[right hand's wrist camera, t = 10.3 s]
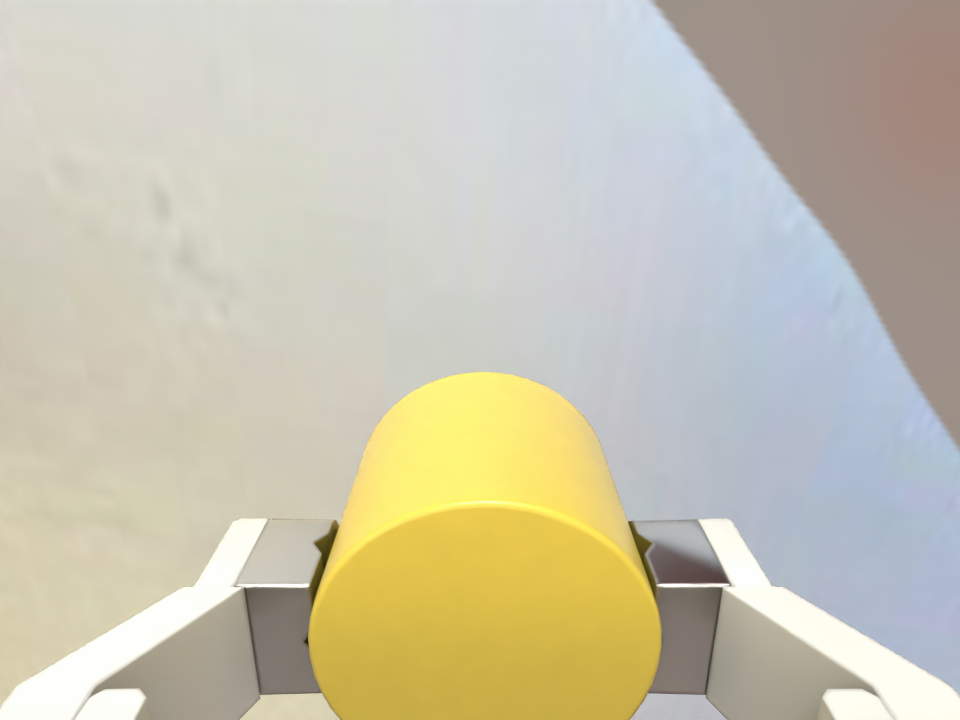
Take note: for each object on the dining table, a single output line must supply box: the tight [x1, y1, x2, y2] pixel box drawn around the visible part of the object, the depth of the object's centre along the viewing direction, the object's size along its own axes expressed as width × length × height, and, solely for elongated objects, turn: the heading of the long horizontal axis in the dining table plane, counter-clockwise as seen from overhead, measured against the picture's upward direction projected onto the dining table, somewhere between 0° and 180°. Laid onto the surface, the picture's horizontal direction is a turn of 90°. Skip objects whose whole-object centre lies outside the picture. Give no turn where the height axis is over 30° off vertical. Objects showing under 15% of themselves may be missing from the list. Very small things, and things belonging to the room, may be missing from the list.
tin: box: [308, 372, 662, 720], centre depth 10 cm, size 4×4×4 cm
